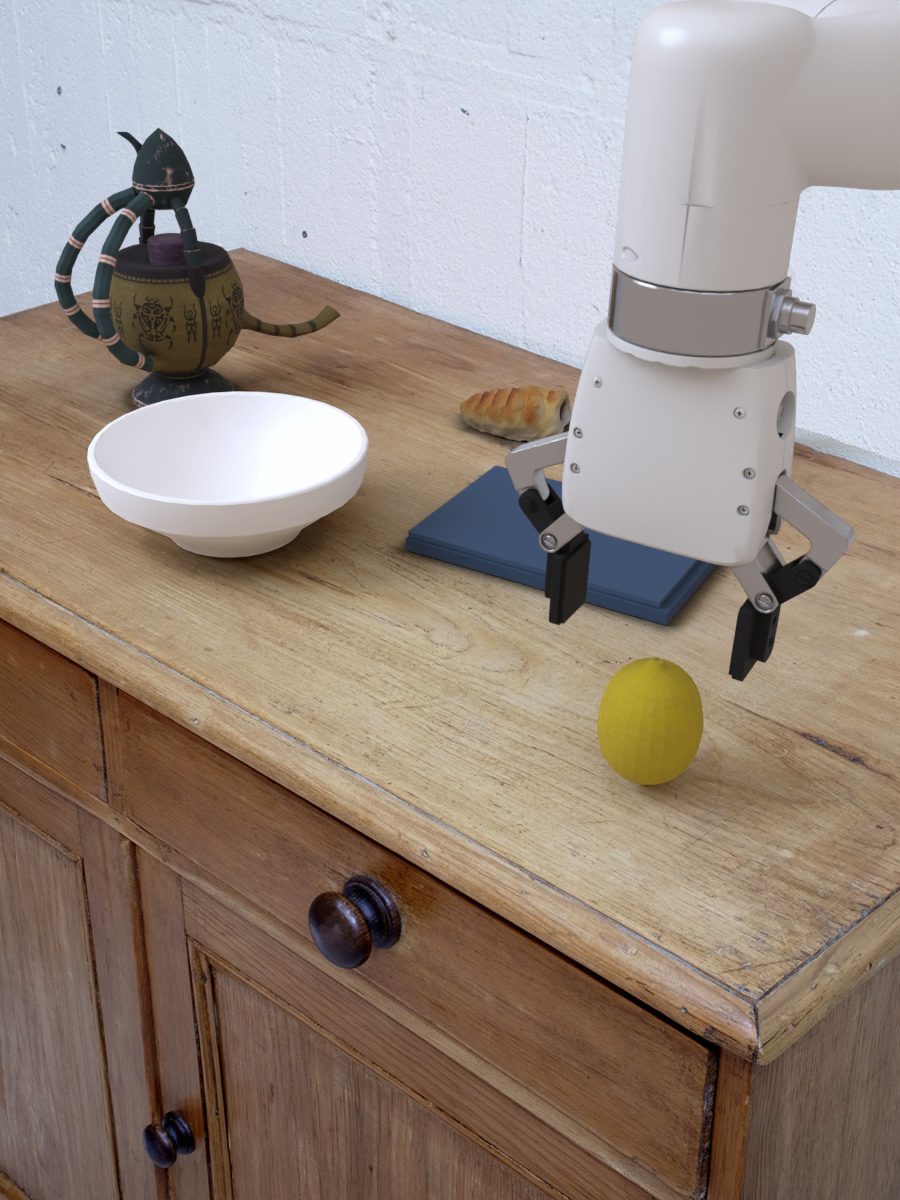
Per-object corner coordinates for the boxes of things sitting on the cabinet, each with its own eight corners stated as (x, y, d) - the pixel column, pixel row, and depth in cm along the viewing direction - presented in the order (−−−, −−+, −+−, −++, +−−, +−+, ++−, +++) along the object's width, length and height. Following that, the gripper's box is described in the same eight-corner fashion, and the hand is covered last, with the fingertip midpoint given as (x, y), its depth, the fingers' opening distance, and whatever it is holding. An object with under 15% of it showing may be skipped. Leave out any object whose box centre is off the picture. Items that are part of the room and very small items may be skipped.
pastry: (451, 435, 112) (451, 393, 110) (471, 407, 117) (472, 366, 116) (559, 448, 110) (561, 405, 108) (574, 419, 115) (577, 378, 113)
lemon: (675, 747, 74) (690, 627, 70) (708, 810, 69) (727, 684, 65) (580, 757, 73) (590, 635, 69) (607, 820, 69) (620, 694, 65)
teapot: (64, 394, 119) (25, 125, 107) (308, 344, 131) (297, 98, 119) (115, 439, 110) (79, 153, 98) (370, 381, 122) (365, 120, 111)
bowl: (117, 478, 104) (107, 393, 100) (365, 472, 105) (364, 388, 102) (80, 604, 87) (65, 507, 83) (375, 594, 88) (374, 499, 85)
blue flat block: (738, 540, 96) (741, 522, 95) (666, 626, 85) (669, 606, 85) (497, 479, 104) (497, 461, 104) (405, 550, 94) (405, 531, 93)
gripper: (912, 322, 57) (842, 655, 66) (554, 258, 64) (534, 565, 73) (868, 372, 51) (798, 729, 60) (481, 296, 59) (468, 624, 67)
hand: (653, 639), depth 66 cm, fingers open, 9 cm apart
